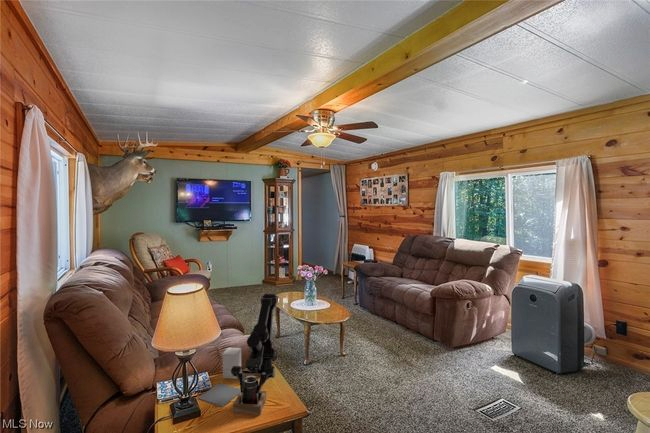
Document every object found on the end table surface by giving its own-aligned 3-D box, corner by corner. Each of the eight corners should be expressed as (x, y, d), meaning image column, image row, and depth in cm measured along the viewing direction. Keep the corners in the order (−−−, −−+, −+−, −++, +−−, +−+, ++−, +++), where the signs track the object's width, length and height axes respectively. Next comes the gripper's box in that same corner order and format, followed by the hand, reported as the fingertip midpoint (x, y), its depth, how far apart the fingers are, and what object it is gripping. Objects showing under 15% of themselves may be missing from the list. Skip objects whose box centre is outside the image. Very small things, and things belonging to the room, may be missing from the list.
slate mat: (219, 383, 165) (219, 382, 165) (243, 390, 159) (243, 389, 159) (198, 398, 153) (198, 397, 153) (222, 407, 147) (222, 406, 147)
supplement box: (241, 371, 177) (241, 348, 176) (236, 379, 169) (236, 354, 169) (227, 370, 178) (227, 347, 177) (222, 378, 170) (222, 353, 169)
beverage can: (261, 404, 149) (261, 377, 149) (250, 412, 143) (250, 384, 143) (249, 399, 153) (250, 373, 152) (238, 407, 147) (238, 380, 146)
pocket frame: (241, 397, 154) (241, 390, 154) (266, 398, 154) (266, 391, 153) (233, 413, 143) (233, 405, 142) (260, 414, 142) (260, 406, 142)
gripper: (232, 348, 151) (223, 386, 141) (274, 350, 150) (268, 388, 140) (237, 357, 159) (229, 394, 149) (277, 359, 159) (272, 395, 148)
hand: (249, 392), depth 146 cm, fingers closed on beverage can, 7 cm apart
